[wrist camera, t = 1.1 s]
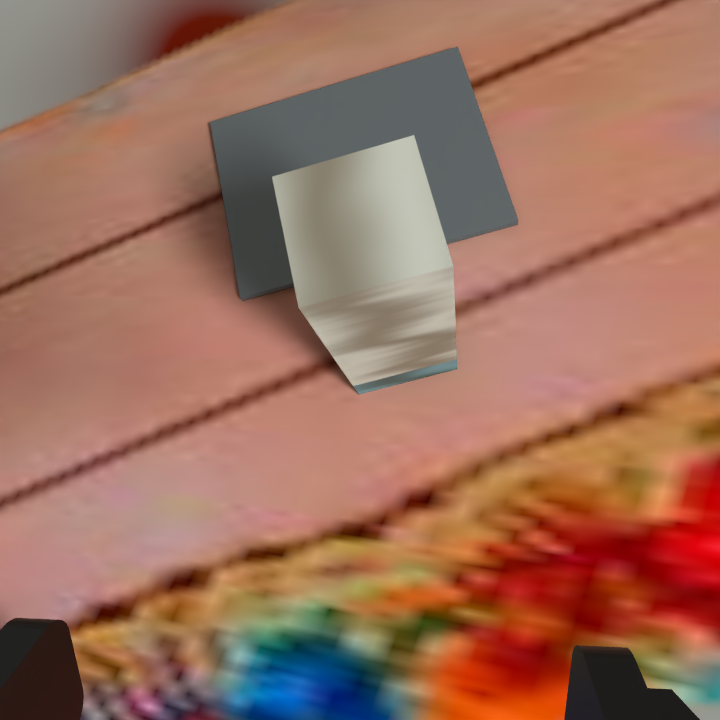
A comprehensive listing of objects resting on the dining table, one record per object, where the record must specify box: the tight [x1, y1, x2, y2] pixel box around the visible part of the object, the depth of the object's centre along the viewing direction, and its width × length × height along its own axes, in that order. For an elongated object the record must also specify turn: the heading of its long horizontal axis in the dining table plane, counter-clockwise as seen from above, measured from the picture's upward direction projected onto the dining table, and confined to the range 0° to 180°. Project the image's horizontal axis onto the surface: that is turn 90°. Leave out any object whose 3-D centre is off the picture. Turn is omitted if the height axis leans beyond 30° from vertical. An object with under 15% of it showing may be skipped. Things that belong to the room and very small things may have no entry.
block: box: [272, 135, 457, 394], centre depth 30 cm, size 6×6×14 cm
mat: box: [210, 47, 518, 301], centre depth 41 cm, size 18×14×1 cm
